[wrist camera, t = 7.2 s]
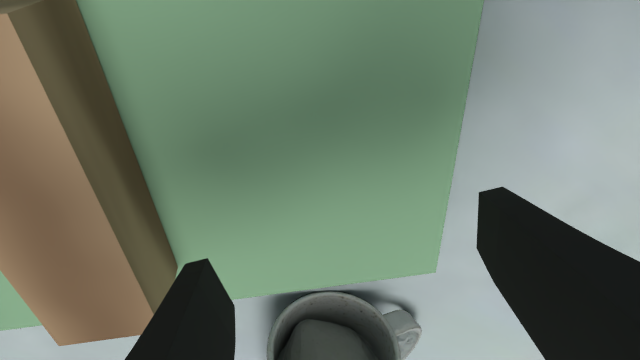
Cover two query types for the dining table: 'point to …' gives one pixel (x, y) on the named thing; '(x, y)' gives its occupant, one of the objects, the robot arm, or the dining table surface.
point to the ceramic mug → (341, 330)
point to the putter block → (72, 184)
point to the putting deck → (289, 132)
